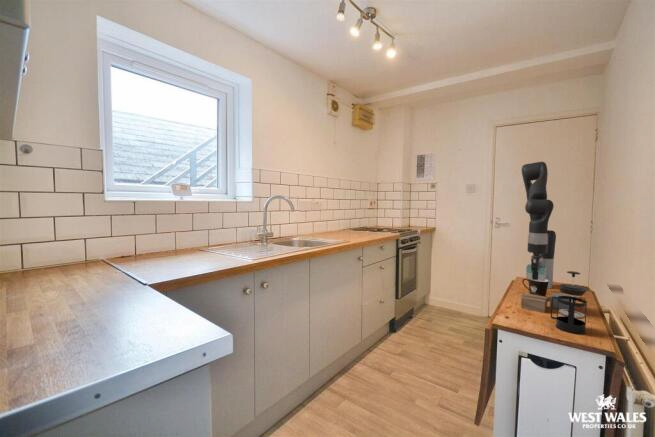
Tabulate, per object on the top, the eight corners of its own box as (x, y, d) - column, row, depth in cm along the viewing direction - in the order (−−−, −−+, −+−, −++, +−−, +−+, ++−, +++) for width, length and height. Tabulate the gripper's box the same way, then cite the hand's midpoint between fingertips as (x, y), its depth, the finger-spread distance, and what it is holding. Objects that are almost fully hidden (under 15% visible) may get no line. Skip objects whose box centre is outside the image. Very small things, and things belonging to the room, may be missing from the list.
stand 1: (524, 302, 148) (525, 293, 148) (546, 307, 142) (547, 297, 142) (520, 307, 142) (521, 297, 141) (544, 312, 136) (544, 302, 135)
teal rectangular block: (528, 276, 145) (528, 264, 145) (545, 279, 140) (546, 266, 140) (526, 278, 141) (526, 266, 141) (544, 281, 137) (544, 268, 136)
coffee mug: (551, 301, 151) (553, 281, 150) (534, 301, 151) (535, 281, 150) (536, 294, 162) (537, 275, 161) (520, 293, 162) (521, 275, 162)
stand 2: (552, 302, 149) (552, 292, 149) (575, 307, 143) (576, 296, 142) (549, 307, 142) (550, 297, 142) (574, 312, 136) (575, 301, 136)
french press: (587, 328, 119) (591, 271, 118) (588, 337, 112) (592, 276, 110) (551, 321, 127) (553, 267, 125) (549, 328, 119) (552, 271, 118)
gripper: (530, 239, 147) (529, 273, 149) (525, 243, 137) (523, 280, 138) (549, 241, 142) (547, 276, 144) (545, 245, 132) (543, 283, 133)
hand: (535, 278), depth 141 cm, fingers closed on teal rectangular block, 5 cm apart
